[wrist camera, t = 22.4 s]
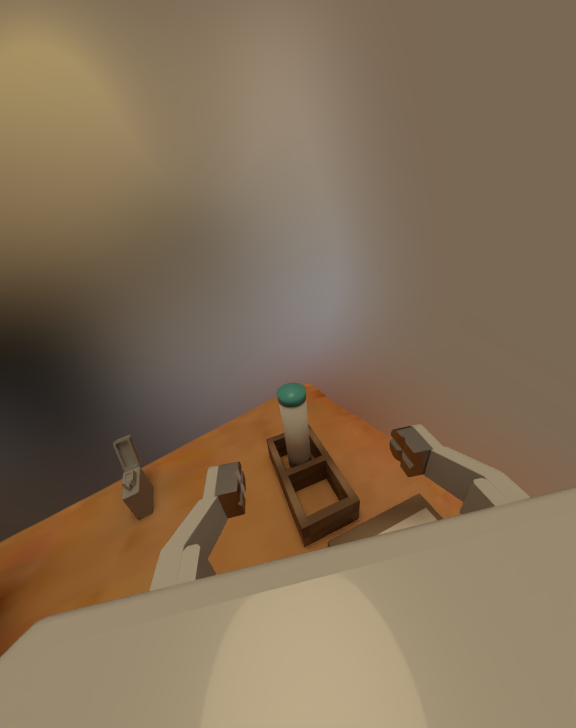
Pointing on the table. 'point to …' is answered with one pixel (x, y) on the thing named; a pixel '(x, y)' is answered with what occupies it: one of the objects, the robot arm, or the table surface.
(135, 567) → the table surface
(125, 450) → the lighter
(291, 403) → the marker
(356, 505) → the box
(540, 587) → the robot arm
